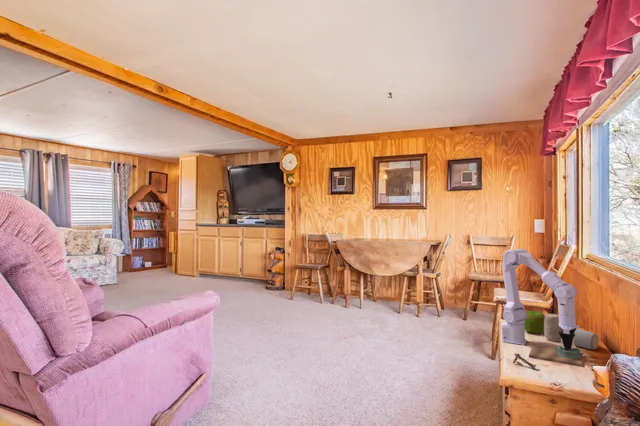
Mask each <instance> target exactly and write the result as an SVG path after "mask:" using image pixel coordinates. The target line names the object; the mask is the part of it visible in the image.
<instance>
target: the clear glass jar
mask: <svg viewBox="0 0 640 426" xmlns="http://www.w3.org/2000/svg"><path fill="white" fill-rule="evenodd" d="M560 342H561V346H562V350H565V351H570V352H575V350H574V347H575V345H574V338H573V341H572V348H571V350H566V349H565V348H564V345H563V341H562V338H561V341H560Z"/></svg>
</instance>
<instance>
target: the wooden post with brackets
mask: <svg viewBox="0 0 640 426" xmlns="http://www.w3.org/2000/svg"><path fill="white" fill-rule="evenodd" d="M514 357H515V358H514V359H513V362H512V363H513V364H515V363H516V364H517V365H518V366H519V367H523V366H524V364H523V363H525V364H526V365H528V366H529V367H530V368H531V369H532V370H534V369H535V368H536V366H537V364H533V363H531V362H529V361H528V360H527V359H525V358H524V357H522V356H521V355H520V354H519V353H517V352H516V353H515V352H514ZM518 360H521V362H522V363H521V362H520V361H518Z"/></svg>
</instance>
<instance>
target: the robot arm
mask: <svg viewBox="0 0 640 426" xmlns="http://www.w3.org/2000/svg"><path fill="white" fill-rule="evenodd" d="M502 257H503V260H502V262H501V263H502V264H501V268H502V275H503V282H504V290H505V295H506V296H505V297H506V304H504V307H503V309H504V310H503V314H502V315H503V319H504V320H503V321H502V323H501V336H502V337H501V338H502V339H501V342H503V343H510V344H515V345H522V346H525V345H526V343H527V342H528V339H527V338H526V335H525V334H526V333H525V332H526V330H525V328H524V322H525V320H526V319H527V312H526V311H527V310H526V309H525V305H524V304H523V302H521V300H520V299H521V298H520V292H519V286H518V285H519V284H518V280H517V274H516V273H517V272H516V269H517V267H519V266H520V265H524V266H527V267H529V269H531V270H532V271H533V272H535V273H536V274H538V275H539V276H540V277H541V282H543V283H544V284H545V285H546V286H547V287H548V288H550V289H551V290H552V291H553V293H554V297H556V300H557V308H558V315H559V326H560V328H561V329H562V331H559V335H560V336H561V338H562V341H563V345H564V348H565V349H566V350H571V348H572V341H573V338H574V337H575V334H574V332H575V330H576V328H577V329H580V325H578V324H576V307H575V305H576V303H575V297H576V296H577V295H578V291H577V289H576V287H575V286H574V285H573V284H570V283H567V282H566V281H564V280H563V279H562V278H560V277H559V276H558V274H557V272H553V271H548V270H547V269H546V268H544V266H542V264H540V263H539V262H538V261H537V259H535V258H534V257H533V256H532V254H531V252H529V251H528V250H527V249H525V248H517V249H508V250H506V251H505V252H504V253H503V254H502Z"/></svg>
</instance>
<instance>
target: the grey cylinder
mask: <svg viewBox="0 0 640 426" xmlns="http://www.w3.org/2000/svg"><path fill="white" fill-rule="evenodd" d="M574 334H575V337H574V347H578V348H584V349H587V350H593V351H595V350H596V349H598V347H599V344H600V343H599V342H600V340H599V336H598V334H596V333H594V332H591V331H587V330H583V329H580V328H576V330H575V332H574Z"/></svg>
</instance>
